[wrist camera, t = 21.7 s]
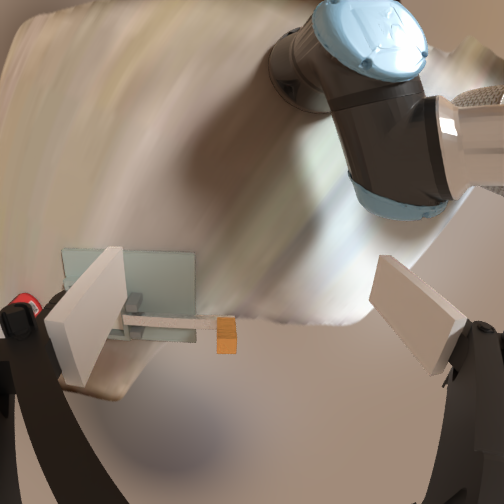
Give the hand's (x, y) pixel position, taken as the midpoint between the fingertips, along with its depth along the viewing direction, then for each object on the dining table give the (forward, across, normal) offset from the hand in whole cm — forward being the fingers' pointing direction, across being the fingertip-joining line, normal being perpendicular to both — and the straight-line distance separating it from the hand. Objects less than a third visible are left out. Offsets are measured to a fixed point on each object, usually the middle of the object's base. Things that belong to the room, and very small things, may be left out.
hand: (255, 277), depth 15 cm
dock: (+35, -18, -21) cm, 44 cm away
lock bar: (+31, -8, -23) cm, 40 cm away
